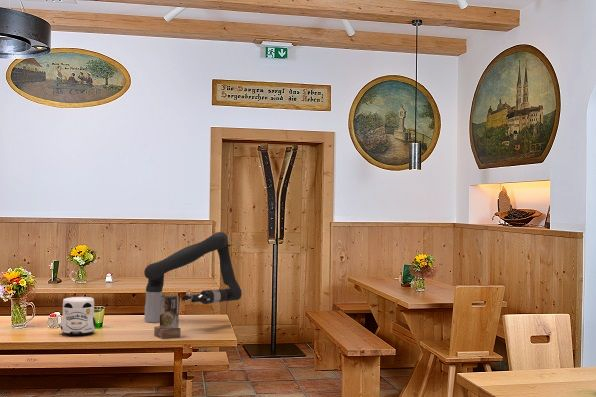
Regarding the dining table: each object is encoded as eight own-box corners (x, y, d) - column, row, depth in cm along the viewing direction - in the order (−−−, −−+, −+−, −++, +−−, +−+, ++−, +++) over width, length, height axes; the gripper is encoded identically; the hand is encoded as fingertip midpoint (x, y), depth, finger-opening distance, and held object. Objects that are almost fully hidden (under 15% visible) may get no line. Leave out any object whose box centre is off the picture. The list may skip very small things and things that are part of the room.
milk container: (71, 338, 355) (72, 302, 355) (54, 333, 367) (54, 298, 367) (101, 334, 368) (102, 299, 368) (84, 329, 380) (84, 295, 380)
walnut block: (154, 336, 367) (154, 326, 367) (171, 334, 373) (172, 325, 373) (162, 339, 359) (162, 330, 359) (180, 337, 364) (180, 328, 364)
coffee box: (178, 326, 369) (179, 295, 369) (176, 328, 363) (177, 297, 363) (161, 326, 369) (161, 295, 369) (159, 328, 363) (159, 296, 363)
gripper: (202, 288, 395) (178, 290, 383) (219, 291, 385) (195, 293, 373) (201, 301, 395) (178, 304, 383) (218, 305, 385) (195, 308, 373)
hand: (186, 299), depth 378 cm, fingers open, 8 cm apart
